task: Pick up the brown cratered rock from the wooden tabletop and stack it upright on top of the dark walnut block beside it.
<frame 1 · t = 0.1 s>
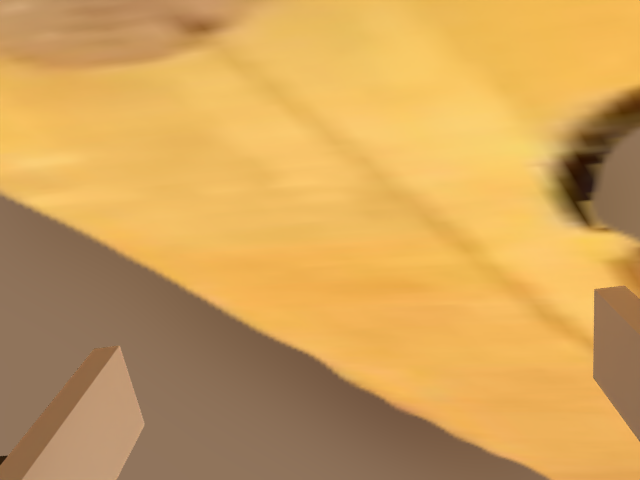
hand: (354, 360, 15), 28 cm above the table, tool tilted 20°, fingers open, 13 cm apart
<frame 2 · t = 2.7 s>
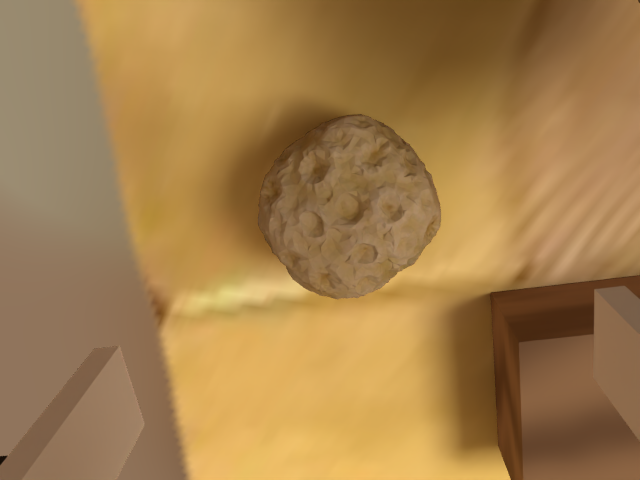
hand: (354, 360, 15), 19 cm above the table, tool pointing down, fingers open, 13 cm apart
walnut block: (587, 364, 36), on the table
brown cratered rock: (347, 186, 33), on the table
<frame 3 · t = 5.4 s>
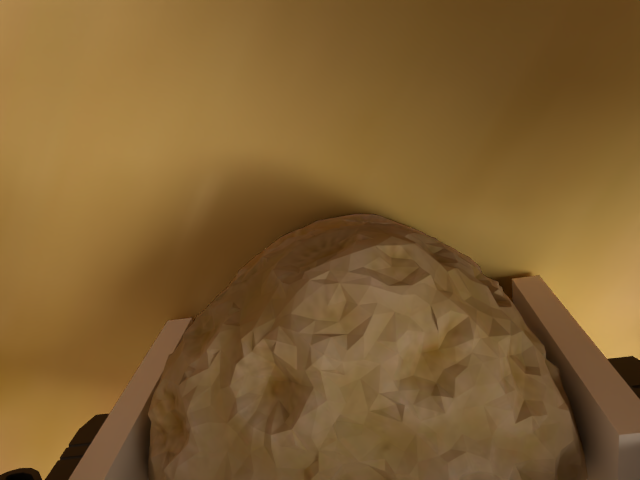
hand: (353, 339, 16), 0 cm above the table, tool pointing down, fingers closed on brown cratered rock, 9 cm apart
brown cratered rock: (355, 330, 17), on the table, touching gripper
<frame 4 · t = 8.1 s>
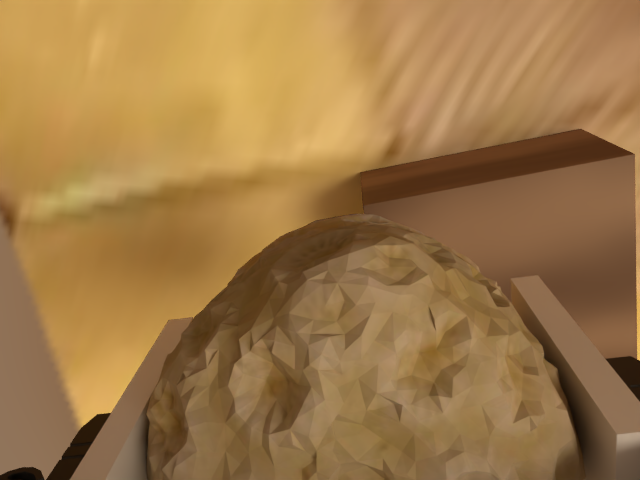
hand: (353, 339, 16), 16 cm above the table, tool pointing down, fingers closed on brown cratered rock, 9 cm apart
walnut block: (480, 250, 32), on the table
brown cratered rock: (353, 330, 17), point 16 cm above the table, touching gripper
when the fingers open (7 cm above the table, at t = 10.6 s): brown cratered rock drops 1 cm, resting on walnut block.
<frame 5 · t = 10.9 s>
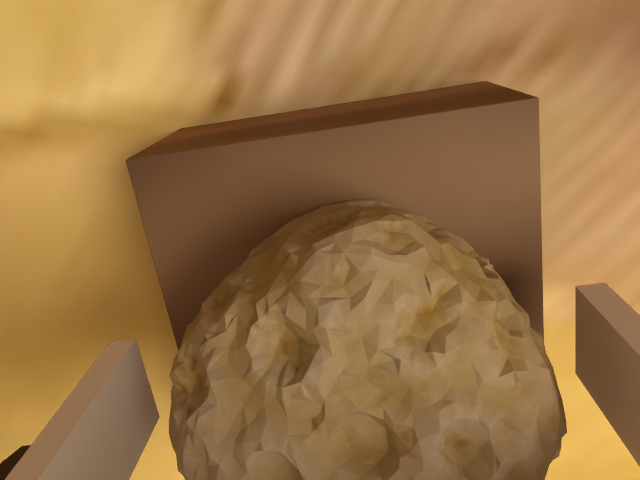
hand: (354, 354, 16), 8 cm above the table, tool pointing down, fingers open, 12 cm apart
walnut block: (350, 248, 24), on the table
brown cratered rock: (357, 310, 18), point 6 cm above the table, touching walnut block
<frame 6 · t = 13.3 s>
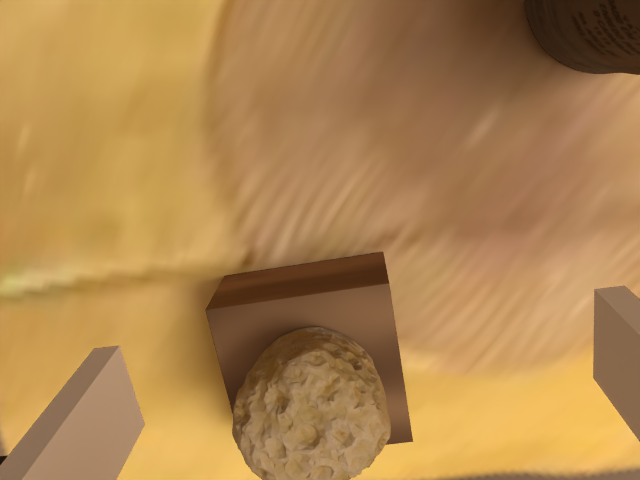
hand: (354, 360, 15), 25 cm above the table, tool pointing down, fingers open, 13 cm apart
walnut block: (317, 335, 43), on the table
brown cratered rock: (315, 375, 37), point 6 cm above the table, touching walnut block
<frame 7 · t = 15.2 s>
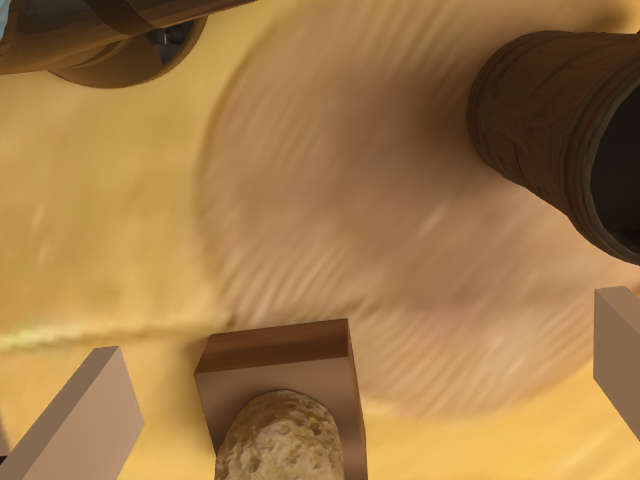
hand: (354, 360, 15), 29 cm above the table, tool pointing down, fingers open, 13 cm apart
beer stein: (561, 80, 40), on the table
walnut block: (290, 385, 50), on the table
brown cratered rock: (285, 427, 44), point 6 cm above the table, touching walnut block
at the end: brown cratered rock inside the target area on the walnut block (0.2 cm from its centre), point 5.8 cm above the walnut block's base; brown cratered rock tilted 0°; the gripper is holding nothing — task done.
